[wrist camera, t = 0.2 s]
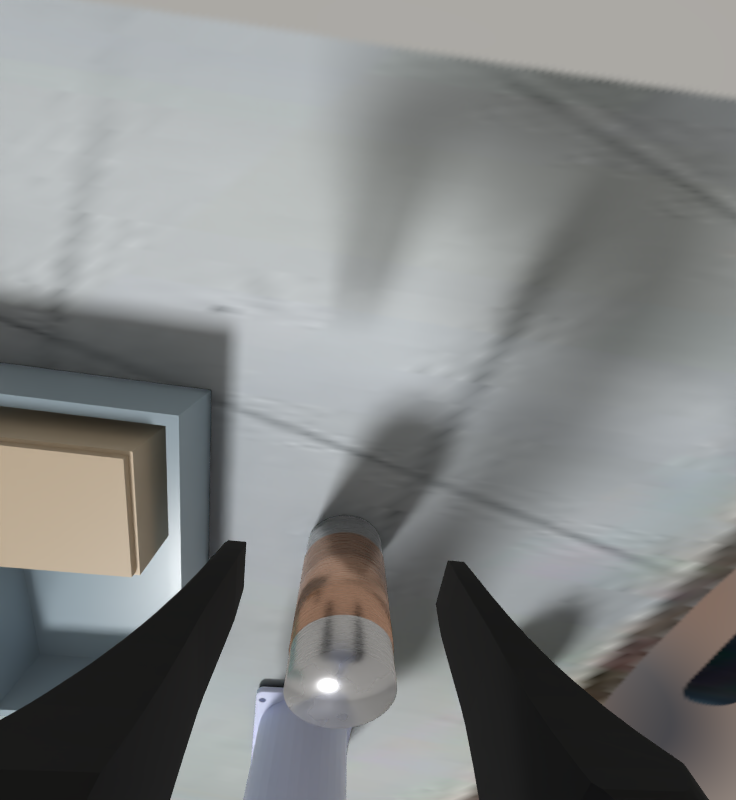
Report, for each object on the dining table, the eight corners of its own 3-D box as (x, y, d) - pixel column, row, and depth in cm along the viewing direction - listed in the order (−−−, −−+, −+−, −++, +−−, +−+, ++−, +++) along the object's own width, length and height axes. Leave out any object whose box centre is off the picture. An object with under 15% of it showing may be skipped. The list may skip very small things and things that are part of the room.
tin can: (375, 578, 25) (387, 731, 17) (303, 572, 25) (278, 726, 16) (387, 518, 23) (407, 654, 15) (311, 511, 23) (287, 646, 14)
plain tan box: (181, 518, 22) (136, 580, 17) (26, 503, 21) (-64, 564, 17) (179, 415, 20) (127, 455, 15) (7, 393, 19) (-103, 429, 14)
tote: (207, 662, 27) (183, 724, 23) (39, 651, 26) (-15, 715, 22) (211, 390, 20) (178, 415, 16) (-18, 360, 19) (-110, 380, 15)
